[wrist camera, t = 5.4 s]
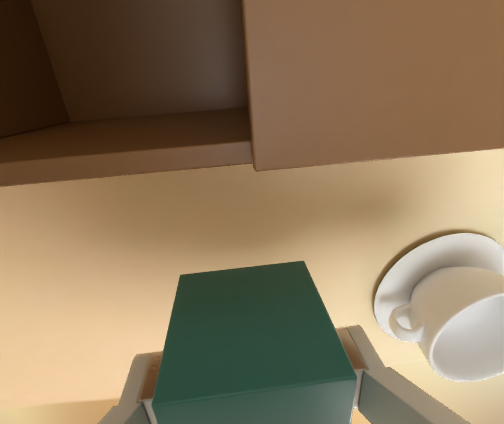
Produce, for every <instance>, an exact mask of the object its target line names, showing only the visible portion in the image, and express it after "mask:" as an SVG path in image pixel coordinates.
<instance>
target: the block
mask: <svg viewBox="0 0 504 424" xmlns="http://www.w3.org/2000/svg"><path fill="white" fill-rule="evenodd" d="M356 383H357V375H356V373H355V370H354V368H353V366H352V364H351V362H350V360H349V357H348V355H347V353H346V351H345V349H344V347H343V344H342V342H341V340H340V338H339V336H338V334H337V331H336V329H335V327H334V325H333V323H332V321H331V318H330V316H329V314H328V312H327V310H326V308H325V305H324V303H323V301H322V299H321V297H320V295H319V292H318V290H317V288H316V286H315V284H314V282H313V279H312V277H311V275H310V273H309V271H308V269H307V266H306V264H305V262H304V261H296V262H288V263H279V264H270V265H262V266H253V267H244V268H236V269H227V270H218V271H210V272H201V273H193V274H184V275H180V278H179V282H178V287H177V291H176V296H175V300H174V305H173V309H172V314H171V318H170V323H169V327H168V332H167V336H166V341H165V345H164V350H163V354H162V359H161V363H160V368H159V372H158V377H157V381H156V386H155V390H154V395H153V399H152V404H151V407H152V410H153V413H154V415H155V418H156V421H157V424H351V420H352V413H353V405H354V398H355V390H356Z"/></svg>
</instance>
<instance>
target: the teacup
mask: <svg viewBox="0 0 504 424" xmlns="http://www.w3.org/2000/svg"><path fill="white" fill-rule="evenodd" d="M374 313H375V317H376V320H377V322H378V324H379V326H380V327H381V328H382V330H383V331H384V332H386V333H387V334H388V335H390V336H391V337H393V338H396V339H398V340H401V341H405V342H411V343H418V345H419V347H420V348H421V350H422V352H423V354H424V355H425V357H426V359H427V361H428V363H429V364H430V366H431V368H432V369H433V370H434V371H435V372H436V373H437V374H438V375H439V376H441V377H443V378H445V379H448V380H452V381H457V382H472V381H480V380H484V379H488V378H492V377H495V376H498V375H500V374H502V373H504V249H503V247H502V246H501V245H500V244H499V243H497V242H496V241H495V240H493V239H491V238H489V237H486V236H483V235H479V234H472V233H459V234H451V235H446V236H443V237H439V238H436V239H433V240H431V241H429V242H426V243H424V244H422V245H420V246H418V247H417V248H415V249H413V250H412V251H410V252H409V253H407V254H406V255H405V256H404V257H402V258H401V259H400V260H399V261H398V262H397V263H396V264H395V265H394V266H393V267H392V268H391V269H390V270H389V271H388V273H387V274H386V275H385V277H384V278H383V280H382V282H381V283H380V285H379V288H378V290H377V293H376V296H375V302H374Z"/></svg>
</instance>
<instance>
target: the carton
mask: <svg viewBox="0 0 504 424" xmlns="http://www.w3.org/2000/svg"><path fill="white" fill-rule="evenodd" d="M502 148H504V0H0V187H3V186H14V185H25V184H36V183H46V182H57V181H68V180H79V179H90V178H100V177H111V176H122V175H133V174H144V173H154V172H165V171H176V170H187V169H198V168H208V167H219V166H230V165H241V164H252V163H253V167H254V170H255V171H267V170H278V169H289V168H299V167H310V166H321V165H331V164H342V163H352V162H363V161H374V160H384V159H395V158H406V157H416V156H427V155H438V154H448V153H459V152H470V151H480V150H491V149H502Z"/></svg>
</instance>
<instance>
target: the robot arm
mask: <svg viewBox="0 0 504 424" xmlns="http://www.w3.org/2000/svg"><path fill="white" fill-rule="evenodd" d="M335 329H336V331H337V334H338V336H339V338H340V340H341V342H342V344H343V347H344V349H345V351H346V353H347V355H348V357H349V360H350V362H351V364H352V366H353V368H354V370H355V373H356V375H357V383H356V390H355V398H354V405H353V409H357V408H358V410H359V411H360V412H361V413H362V414H363V415H364V416H365V418H366V419H368V421H369V422H370V423H371V424H470V423H469V422H468V421H466V420H465V419H463V418H462V417H460V416H459V415H457V414H456V413H455V412H453V411H452V410H450V409H449V408H448V407H446V406H445V405H443V404H442V403H440V402H439V401H438V400H436V399H435V398H433V397H432V396H430V395H429V394H427V393H426V392H424V391H423V390H422V389H420V388H419V387H418V386H416V385H415V384H413V383H412V382H410V381H409V380H407V379H406V378H405V377H403V376H402V375H400V374H399V373H398V372H396V371H394V370H393V369H392V368H390V367H385V366H384V364H383V363H382V361H381V359H380V358H379V356H378V354H377V352H376V351H375V349H374V347H373V346H372V344H371V342H370V340H369V339H368V337H367V335H366V334H365V332H364V330H363V328H362V327H361V326H359V325H357V326H349V327H340V328H335ZM162 354H163V351H161V352H152V353H144V354H137V355H136V356H135V358H134V359H133V362H132V365H131V368H130V371H129V374H128V377H127V380H126V383H125V386H124V389H123V392H122V395H121V398H120V402H119V405H117V406H113V407H112V408H111V409H110V411H109V412H108V413H107V414H106V415H105V416H104V417H103V418H102V419H101V421H100V422H99V423H98V424H157V421H156V418H155V415H154V413H153V410H152V407H151V404H152V399H153V395H154V390H155V386H156V381H157V377H158V372H159V368H160V363H161V359H162Z"/></svg>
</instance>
